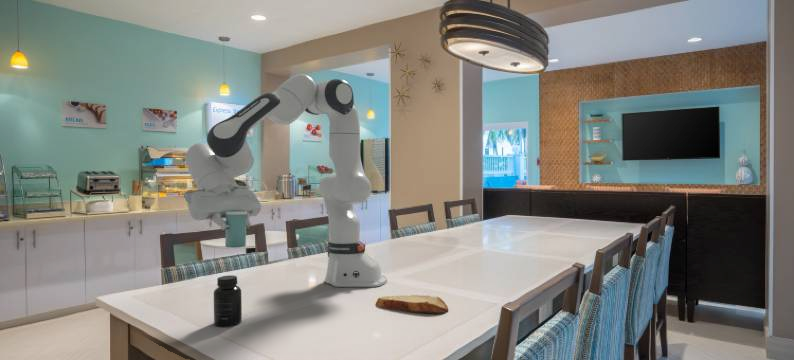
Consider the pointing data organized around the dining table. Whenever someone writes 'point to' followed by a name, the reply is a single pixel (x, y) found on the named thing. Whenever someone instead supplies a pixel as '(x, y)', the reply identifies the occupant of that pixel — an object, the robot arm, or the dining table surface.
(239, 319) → the supplement bottle
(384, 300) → the slice of bread
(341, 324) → the dining table surface
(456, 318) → the dining table surface
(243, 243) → the cup
